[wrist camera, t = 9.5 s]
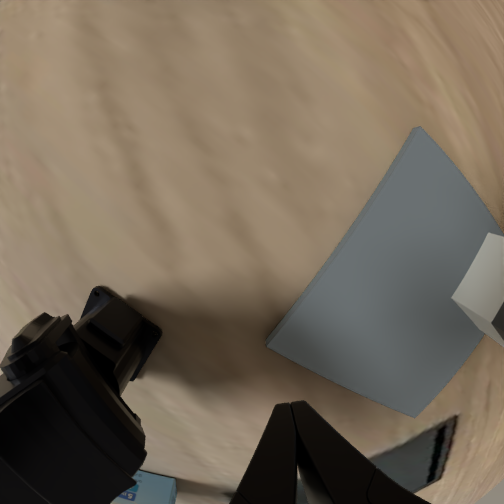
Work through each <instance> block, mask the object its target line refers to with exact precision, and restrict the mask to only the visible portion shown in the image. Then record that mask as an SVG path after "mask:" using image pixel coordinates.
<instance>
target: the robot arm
mask: <svg viewBox="0 0 504 504" xmlns="http://www.w3.org/2000/svg"><path fill="white" fill-rule="evenodd" d="M96 291H98V292H99V295H98V294H97V292H96ZM153 332H156V333H157V334H158V335H155V334H154V333H153ZM161 336H162V331H161V329H160V328H159V327H157V326H156V325H154V324H153V323H151V322H150V321H148V320H147V319H145V318H144V317H142V315H141V314H139V313H138V312H136V311H135V310H134V309H132V308H131V307H129V306H128V305H126V304H125V303H124V302H122V301H121V300H119V299H118V298H117V297H114V296H112V295H111V294H110V293H108V292H107V291H105V290H104V289H103V288H101V287H100V286H96V287H94V288H93V289H92V291H91V293H90V296H89V298H88V301H87V303H86V305H85V308H84V310H83V313H82V316H81V318H80V320H79V321H78V322H77V323H76V324H75V325H74V326H73V325H72V320H71V318H70V317H69V315H68V314H67V315H65V316H62V317H60V316H58V317H56V318H55V317H52V316H50V315H49V314H47V313H45V312H44V313H42V314H41V315H39V316H38V317H36V318H35V319H33V320H32V321H31V322H29V323H28V324H27V325H25V326H24V327H23V328H22V329H21V330H20V331H19V332H18V334H17V335H16V336H15V337H14V338H13V339H12V345H11V346H10V347H9V349H8V351H7V353H6V355H5V357H4V359H3V361H2V362H1V364H0V368H1V370H2V371H3V374H2V375H1V376H0V504H110V503H111V502H112V501H113V500H114V499H115V498H117V497H118V496H119V495H120V494H122V493H123V492H124V491H126V490H128V489H130V488H132V487H133V486H135V485H136V484H137V481H136V480H134V479H133V478H132V477H133V476H134V475H135V474H136V473H137V471H138V470H139V469H140V467H141V466H142V465H143V463H144V460H145V458H146V456H147V451H146V450H145V449H144V448H145V434H144V431H143V428H142V427H141V419H140V418H139V417H138V416H137V414H135V413H133V412H132V410H131V409H130V408H129V407H128V406H127V404H126V403H125V402H124V401H123V399H122V398H121V397H120V396H121V395H122V393H123V391H124V389H125V387H126V386H127V384H128V382H129V381H134V380H135V378H136V376H137V375H138V373H139V372H140V370H141V368H142V367H143V365H144V363H145V362H146V360H147V358H148V357H149V355H150V354H151V352H152V350H153V349H154V347H155V346H156V344H157V342H158V341H159V339H160V338H161ZM297 466H298V470H299V474H300V477H301V481H302V484H303V487H304V491H305V494H306V497H307V500H308V503H309V504H431V503H429V502H427V501H425V500H424V499H422V498H420V497H418V496H416V495H415V494H413V493H411V492H410V491H408V490H407V489H405V488H403V487H402V486H400V485H399V484H398V483H396V482H395V481H394V480H392V479H391V478H390V477H388V476H387V475H386V474H385V473H384V472H382V471H381V470H380V469H379V468H377V469H376V466H375V465H374V464H373V463H372V462H370V461H369V460H368V459H367V458H366V457H365V456H364V455H363V454H361V453H360V452H359V451H358V450H357V449H356V448H355V447H354V446H352V445H351V444H350V443H349V442H348V441H347V440H346V439H345V438H344V437H343V436H341V435H340V434H339V433H338V432H337V431H336V430H335V429H334V428H333V427H332V426H331V425H330V424H329V423H328V422H327V421H326V420H324V419H323V418H322V417H321V416H320V415H319V414H318V413H317V412H316V411H315V410H314V409H313V408H312V407H311V406H310V405H309V404H308V403H307V402H306V401H304V400H302V401H295V402H292V403H291V404H290V403H281V404H276V405H275V407H274V409H273V411H272V414H271V416H270V419H269V421H268V423H267V426H266V428H265V430H264V433H263V435H262V437H261V439H260V442H259V444H258V446H257V448H256V450H255V453H254V455H253V457H252V459H251V461H250V463H249V465H248V467H247V470H246V472H245V474H244V476H243V478H242V480H241V482H240V484H239V486H238V488H237V490H236V491H237V492H235V493H234V495H233V497H232V499H231V501H230V503H229V504H297Z"/></svg>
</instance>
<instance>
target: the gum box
mask: <svg viewBox="0 0 504 504" xmlns="http://www.w3.org/2000/svg"><path fill="white" fill-rule="evenodd" d="M132 478H133V479H134V480H136V481H137V484H136V485H135V486H133V487H132V488H130V489H128V490H126V491H124V492H123V493H122V494H120V495H119V496H118V497H117V498H115V499H114V500H113V501H112V502H111V503H110V504H175V501H176V496H177V489H176V480H175V479H174V478H169V477H164V476H160V475H155V474H151V473H147V472H143V471H139V470H138V471H137V473H136V474H135V475H134V476H133V477H132Z"/></svg>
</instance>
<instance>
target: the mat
mask: <svg viewBox="0 0 504 504" xmlns="http://www.w3.org/2000/svg"><path fill="white" fill-rule="evenodd" d="M488 233H492V234H496V235H500V236H503V237H504V234H503V232H502V231H501V229H500V227H499V226H498V224H497V223H496V221H495V219H494V218H493V216H492V215H491V213H490V212H489V210H488V209H487V207H486V206H485V204H484V203H483V201H482V200H481V198H480V197H479V196H478V194H477V193H476V191H475V190H474V189H473V187H472V186H471V185H470V183H469V182H468V181H467V179H466V178H465V177H464V175H463V174H462V173H461V172H460V170H459V169H458V168H457V167H456V165H455V164H454V163H453V162H452V161H451V159H450V158H449V157H448V156H447V155H446V154H445V152H444V151H443V150H442V149H441V148H440V147H439V146H438V144H437V143H436V142H435V141H434V140H433V139H432V138H431V137H430V136H429V135H428V134H427V133H426V132H425V131H424V130H423V128H422V127H421V126H419V127H415V128H413V130H412V131H411V133H410V135H409V136H408V138H407V140H406V142H405V143H404V145H403V147H402V148H401V150H400V152H399V153H398V155H397V156H396V158H395V160H394V161H393V163H392V165H391V166H390V168H389V169H388V171H387V173H386V174H385V176H384V177H383V179H382V181H381V182H380V184H379V185H378V187H377V188H376V190H375V191H374V193H373V194H372V196H371V198H370V199H369V201H368V202H367V204H366V205H365V207H364V208H363V210H362V211H361V213H360V214H359V216H358V217H357V218H356V220H355V221H354V223H353V224H352V226H351V227H350V229H349V230H348V232H347V233H346V234H345V236H344V237H343V239H342V240H341V242H340V243H339V244H338V246H337V247H336V249H335V250H334V251H333V253H332V254H331V256H330V257H329V258H328V260H327V261H326V262H325V264H324V265H323V267H322V268H321V269H320V271H319V272H318V273H317V275H316V276H315V277H314V279H313V280H312V281H311V283H310V284H309V285H308V287H307V288H306V289H305V291H304V292H303V293H302V295H301V296H300V297H299V299H298V300H297V301H296V302H295V304H294V305H293V306H292V308H291V309H290V310H289V311H288V313H287V314H286V315H285V316H284V318H283V319H282V320H281V321H280V323H279V324H278V325H277V326H276V328H275V329H274V330H273V331H272V333H271V334H270V335H269V336H268V338H267V339H266V347H268V348H269V349H271V350H273V351H275V352H277V353H279V354H280V355H282V356H284V357H286V358H288V359H290V360H292V361H293V362H295V363H297V364H299V365H301V366H303V367H305V368H307V369H309V370H311V371H313V372H315V373H316V374H318V375H320V376H322V377H324V378H326V379H328V380H330V381H332V382H335V383H337V384H339V385H341V386H343V387H345V388H347V389H349V390H351V391H353V392H355V393H358V394H360V395H362V396H364V397H366V398H369V399H371V400H373V401H375V402H377V403H380V404H382V405H384V406H387V407H389V408H391V409H394V410H396V411H398V412H401V413H403V414H406V415H408V416H411V417H413V418H416V417H417V416H418V415H419V414H420V413H421V412H422V411H423V410H424V408H425V407H426V406H427V405H428V404H429V403H430V402H431V401H432V400H433V399H434V398H435V397H436V396H437V395H438V394H439V392H440V391H441V390H442V389H443V388H444V387H445V386H446V384H447V383H448V382H449V381H450V380H451V379H452V377H453V376H454V375H455V374H456V372H457V371H458V370H459V369H460V367H461V366H462V365H463V364H464V362H465V361H466V360H467V358H468V357H469V356H470V354H471V353H472V352H473V350H474V349H475V347H476V346H477V345H478V343H479V342H480V340H481V339H482V337H483V336H484V334H485V333H484V332H482V331H481V330H479V328H478V327H477V326H476V325H475V324H474V323H473V321H472V320H471V319H470V318H469V317H468V316H467V315H466V313H465V312H464V311H463V310H462V309H461V308H460V307H459V306H458V305H457V304H456V302H455V301H454V300H453V299H452V298H451V297H452V296H453V294H454V293H455V291H456V289H457V288H458V286H459V285H460V283H461V281H462V280H463V278H464V276H465V275H466V273H467V271H468V270H469V268H470V266H471V264H472V263H473V261H474V259H475V257H476V255H477V254H478V252H479V250H480V248H481V246H482V244H483V242H484V240H485V238H486V236H487V234H488Z"/></svg>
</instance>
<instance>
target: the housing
mask: <svg viewBox="0 0 504 504" xmlns="http://www.w3.org/2000/svg"><path fill="white" fill-rule="evenodd" d="M451 298H452V299H453V300H454V301H455V302H456V304H457V305H458V306H459V307H460V308H461V309H462V310H463V311H464V312H465V313H466V315H467V316H468V317H469V318H470V319H471V320H472V321H473V323H474V324H475V325H476V326H477V327H478V328H479V330H481V331H482V332H484V333H485V334H486V335H488V336H489V337H491V338H492V339H493V340H495V341H496V342H497V343H499V344H500V345H501V346H503V347H504V237H503V236H500V235H496V234H492V233H488V234H487V236H486V238H485V240H484V242H483V244H482V246H481V248H480V250H479V252H478V254H477V255H476V257H475V259H474V261H473V263H472V264H471V266H470V268H469V270H468V271H467V273H466V275H465V276H464V278H463V280H462V281H461V283H460V285H459V286H458V288H457V289H456V291H455V293H454V294H453V296H452V297H451Z"/></svg>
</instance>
